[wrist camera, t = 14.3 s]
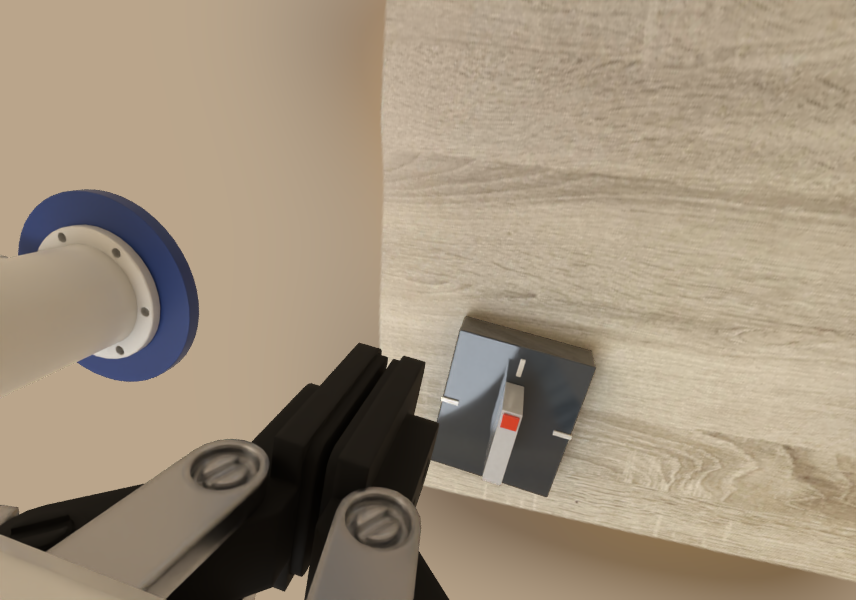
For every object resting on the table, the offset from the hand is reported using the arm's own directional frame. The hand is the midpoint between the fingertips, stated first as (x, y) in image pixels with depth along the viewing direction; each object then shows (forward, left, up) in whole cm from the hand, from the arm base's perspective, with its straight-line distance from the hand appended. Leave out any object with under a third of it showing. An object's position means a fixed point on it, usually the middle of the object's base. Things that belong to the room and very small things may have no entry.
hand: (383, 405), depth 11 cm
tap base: (+5, -13, -25) cm, 29 cm away
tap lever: (+5, -13, -22) cm, 26 cm away
